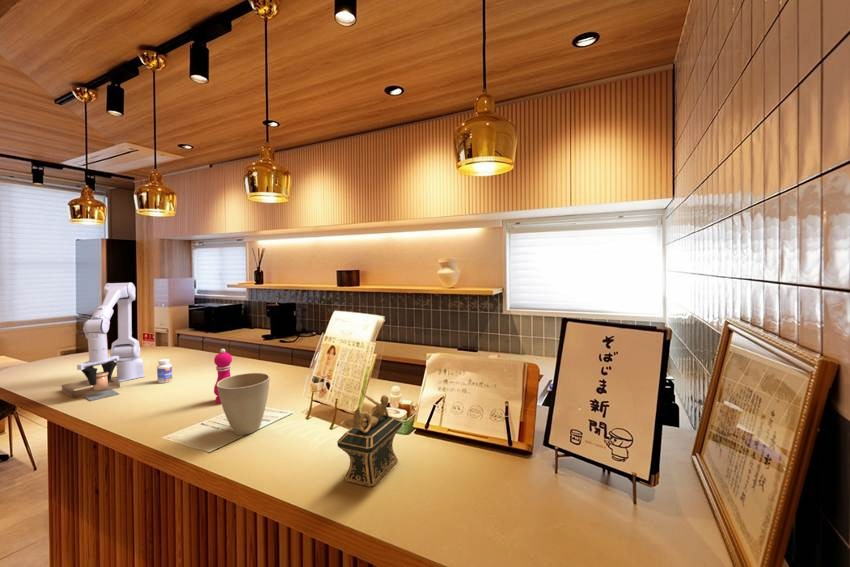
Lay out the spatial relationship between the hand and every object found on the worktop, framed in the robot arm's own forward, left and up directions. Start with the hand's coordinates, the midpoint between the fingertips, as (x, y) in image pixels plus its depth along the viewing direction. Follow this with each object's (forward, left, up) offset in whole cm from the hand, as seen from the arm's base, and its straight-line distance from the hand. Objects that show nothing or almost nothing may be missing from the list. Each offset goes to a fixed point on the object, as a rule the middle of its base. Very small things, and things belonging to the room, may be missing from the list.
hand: (100, 382), depth 153 cm
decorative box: (-20, +128, -5) cm, 130 cm away
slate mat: (0, 0, -5) cm, 5 cm away
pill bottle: (-22, +1, -5) cm, 23 cm away
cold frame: (0, -14, -5) cm, 15 cm away
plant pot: (-16, +79, -5) cm, 81 cm away
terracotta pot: (0, 0, -2) cm, 2 cm away
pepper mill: (-25, +48, -5) cm, 55 cm away
